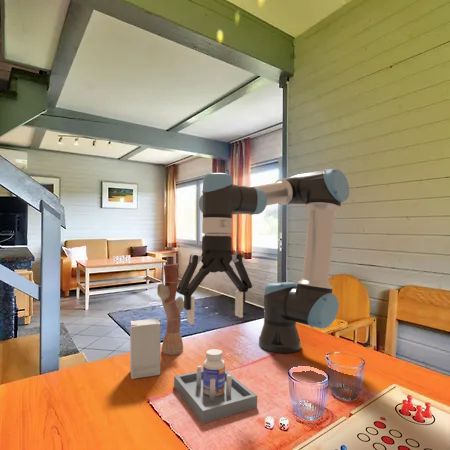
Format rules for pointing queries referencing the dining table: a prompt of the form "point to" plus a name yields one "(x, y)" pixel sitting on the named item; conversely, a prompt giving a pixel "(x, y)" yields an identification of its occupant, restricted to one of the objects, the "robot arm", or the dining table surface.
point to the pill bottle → (214, 372)
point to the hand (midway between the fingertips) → (215, 319)
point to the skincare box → (144, 348)
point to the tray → (214, 405)
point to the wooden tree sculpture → (171, 310)
